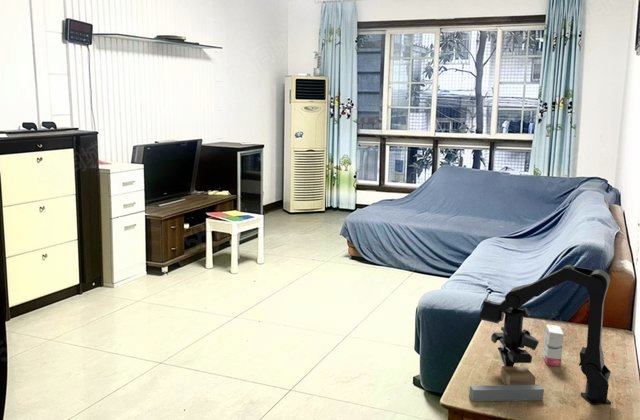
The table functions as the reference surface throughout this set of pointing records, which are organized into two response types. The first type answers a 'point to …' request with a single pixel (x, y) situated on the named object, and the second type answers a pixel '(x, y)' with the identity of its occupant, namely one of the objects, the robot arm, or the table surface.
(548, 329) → the ink box
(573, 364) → the table surface
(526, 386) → the grey board
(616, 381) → the table surface
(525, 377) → the walnut block
